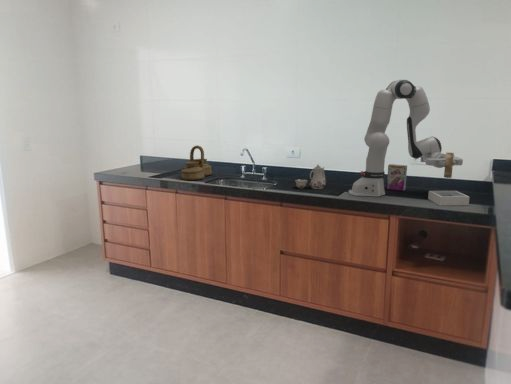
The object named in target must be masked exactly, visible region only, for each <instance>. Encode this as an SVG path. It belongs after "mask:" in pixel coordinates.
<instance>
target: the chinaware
mask: <svg viewBox="0 0 511 384" xmlns="http://www.w3.org/2000/svg"><path fill="white" fill-rule="evenodd" d="M312 173H313V175H312ZM309 179H310V182H309V180H307V179H299V178H298V179H295V180H294V182H295V183H296V185H295V186H296V187H297V188H298V189H304V188H305V187H306V186H307V184H308V182H309V184H308V185H309V186H310V188H311V189H313V190H323V189H324V187H325V186H326V183H327V179H326V175H325V167H324V166H323V167H321V166H320V164H319V163H317V165H315V167H313V168H312V170H311V171H310V173H309Z"/></svg>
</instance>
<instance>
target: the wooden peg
mask: <svg viewBox="0 0 511 384" xmlns="http://www.w3.org/2000/svg"><path fill="white" fill-rule="evenodd" d="M445 154H446V160H445V162H446V165H445V167H444V172H443V177H444V178H445V179H446V178H448V179H451V178H452V176H453V167H454V166H453V157H454V156H455V155H454V154H455V152H445Z"/></svg>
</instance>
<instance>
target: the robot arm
mask: <svg viewBox="0 0 511 384" xmlns="http://www.w3.org/2000/svg"><path fill="white" fill-rule="evenodd" d="M374 99H375V100H374V103H373V107H372V110H371V111H372V112H371V115H370V116H371V117H370V122H369V125H368V127H367V130H366V133H365V135H364V138H363V139H364V143H365V145H366V146H367V147H368V151H367V156H366V158H365V159H366V160H365V170H364V171H363V170H361V171H360V173H359V174H360V175H362V176H361V177H360V178H359V179H357V180H356V181H355V182H353V184H352V188H351V189H349V190H348V192H349V193H348V194H349V195H351V196H353V197H354V196H355V197H381V196H385V195H386V191H385V176H386V174H385V172H386V171H385V159H386V156H387V155H386V154H387V150H388V147H389V145H390V137H389V136H388V134H386V131H387V128H388V126H389V124H390V121H391V115H392V110H393V105H394V102H395V101H396V100H401V99H405V100H406V101H407V103H408V107H409V108H408V109H409V114H408V117H407V118H406V132H407V133H406V134H407V142H408V143H407V144H408V146H407V149H408V150H407V151H408V154H409V156H410V158H413V159H417V160H418V159H420V158H422V162H423V163H425V165H427V166H431V167H434V168H437V169H441V168H445V165H446V162H445V160H446V153H442V149H443V148H442V147H443V146H442V143H441V141H440V140H439V138H437V137H435V136H434V135H432V136H428V137H426V138H424V139H421V140H418V141H417V134H416V128H417V126H418V125H419V124H420V123H421V122H422V121H423V120H425V119H426V118H427V117H428V116H429V113H430V111H431V108H430V103H429V99H428V97H427V94H426V92H425V90H424V88H423V87H422V86H419V85H418V86H417V85H416V86H415V84H413V83H412V82H411V81H409V80H408V79H398V80H394V81H392V82H390V83H389V85H388V86H387V87H386V88H385V89H380V90H379V91H378V92H377V94H376V96H375V98H374ZM463 161H464V160H463V158H461V157H458V156H455V155H454V157H453V167H454V166H462V165H463Z"/></svg>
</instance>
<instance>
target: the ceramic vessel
mask: <svg viewBox="0 0 511 384" xmlns="http://www.w3.org/2000/svg"><path fill="white" fill-rule="evenodd" d="M195 150H199V152H200V158H196V159H195V158H194V153H195ZM207 160H208V159H207V158H205V151H204V148H203V147H202V146H201V145H194V146H192V148H191V149H190V152H189V161H186V162H185V165H186V167H181V168H180V169H181V179H183V180H185V181H197V180H202V179H204V178H205V177H206V176H210V175H212V170H213V169H212V167H213V166H212V165H210V164H208V163H206V162H207Z"/></svg>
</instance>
